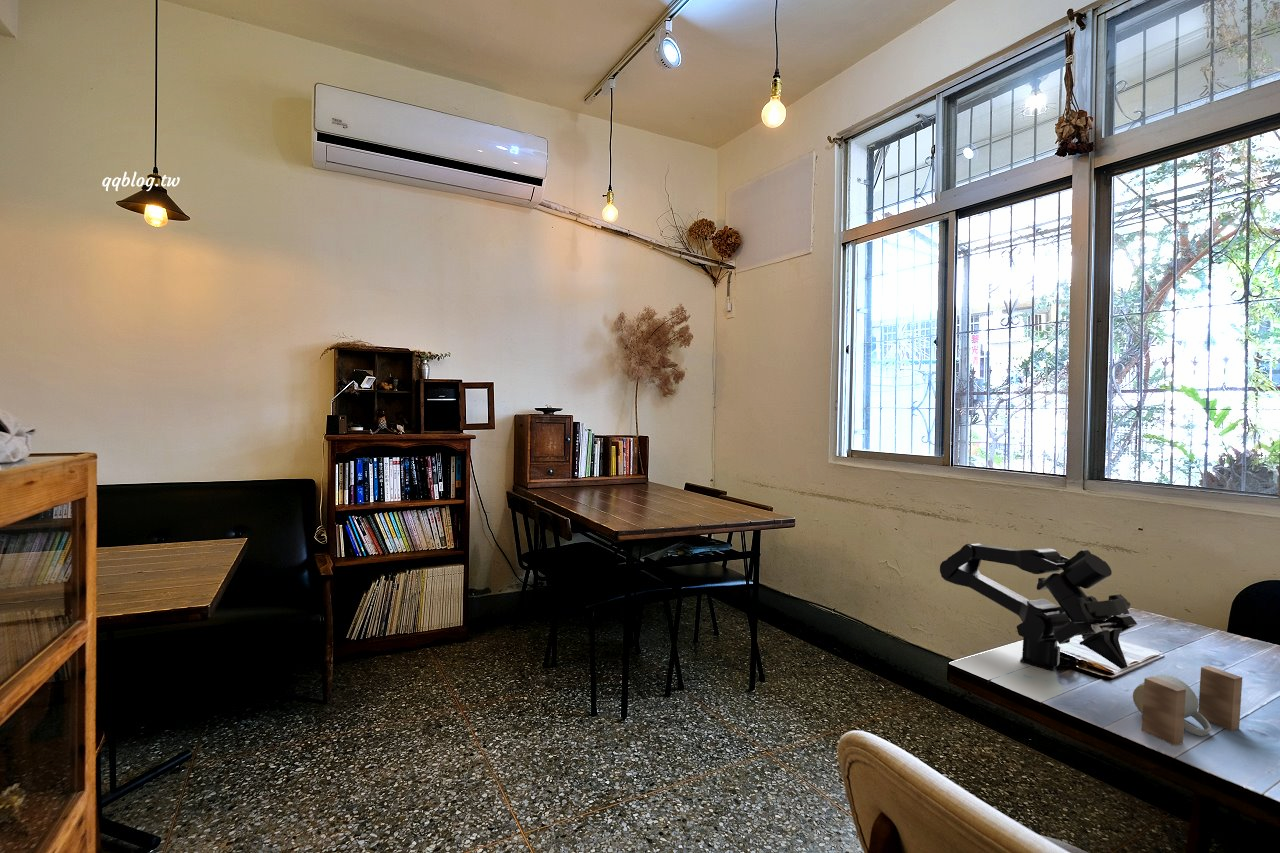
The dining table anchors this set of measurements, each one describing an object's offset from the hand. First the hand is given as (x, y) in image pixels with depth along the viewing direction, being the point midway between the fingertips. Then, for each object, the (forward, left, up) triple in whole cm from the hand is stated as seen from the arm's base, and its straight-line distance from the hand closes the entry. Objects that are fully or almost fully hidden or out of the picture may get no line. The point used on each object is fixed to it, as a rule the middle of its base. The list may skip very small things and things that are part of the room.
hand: (1124, 668), depth 117 cm
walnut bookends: (+10, -5, -7) cm, 13 cm away
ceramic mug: (+8, -3, -7) cm, 11 cm away
